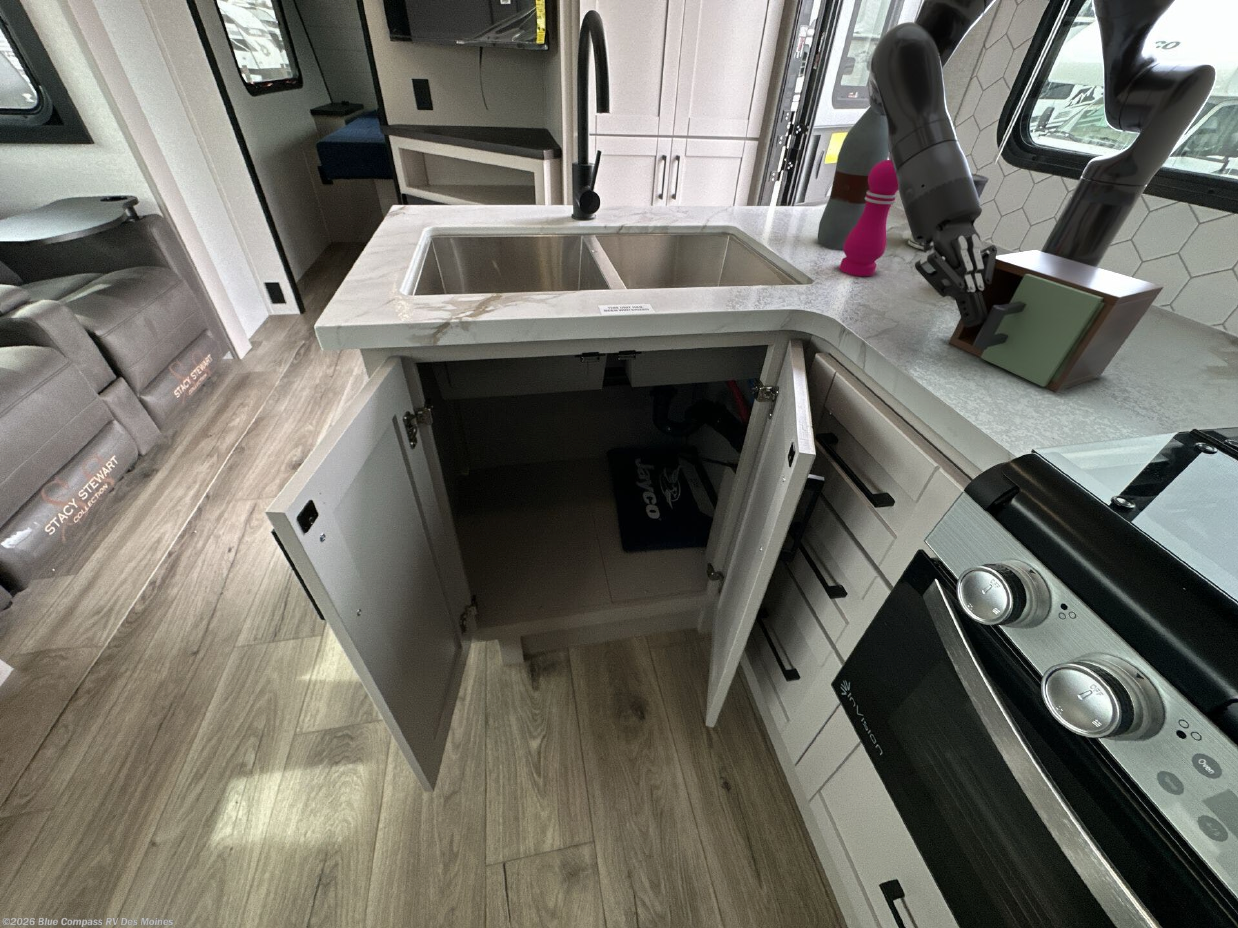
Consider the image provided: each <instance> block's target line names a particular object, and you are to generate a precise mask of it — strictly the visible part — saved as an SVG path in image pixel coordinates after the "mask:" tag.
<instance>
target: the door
mask: <svg viewBox="0 0 1238 928" xmlns="http://www.w3.org/2000/svg"><path fill="white" fill-rule="evenodd" d="M1102 300H1103V297H1100V296H1097V295H1093V294H1090V293H1087V292H1084V291H1081V290H1078V289H1075V288H1072V287H1069V286H1065V285H1062V284H1059V283H1056V282H1053V281H1050V280H1047V279H1044V278H1040V277H1037V276H1034V275H1031V274H1025V275H1024V277H1023V279H1022V281H1021V283H1020V285H1019V287H1018V288H1017V290H1016V292H1015V294H1014V296H1013V298H1012V300H1011V301H1010V303H1009V304H1004V305H994V306H993V307H992V309H991V311H990V313H989V315H988V317H987V318H986V320H985V322H984V324H983V326H982V328H981V330H980V332H979V334H978V336H977V338H976V340H975V342H974V344H973V347H975V348H977V349H981V350H984V352H983V354H982V355H981V357H979V358H980V359H982V360H984V361H986V362H988V363H991V364H992V365H995V366H998V367H999V368H1002V369H1004V370H1006V371H1007V372H1009V373H1012V374H1014V375H1017V376H1019V377H1021V378H1022V379H1025V380H1027V381H1030V382H1032V383H1034V384H1036V385H1038V386H1040V387H1042V388H1045V387H1044V386H1047V384H1048V383H1049V381H1050V380H1051V378H1052V376H1053V375H1054V373H1055V372H1056V370H1057V369H1058V367H1059V366H1060V364H1061V363H1062V361H1063V360H1064V358H1065V357H1066V355H1067V353H1068V352H1069V350H1070V349H1071V347H1072V346H1073V344H1074V343H1075V341H1076V340H1077V338H1078V337H1079V335H1080V333H1081V332H1082V330H1083V329H1084V327H1085V326H1086V324H1087V323H1088V321H1089V320H1090V318H1091V317H1092V315H1093V313H1094V312H1095V310H1096V309H1097V307H1098V306H1099V304H1100V303H1101V301H1102Z"/></svg>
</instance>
